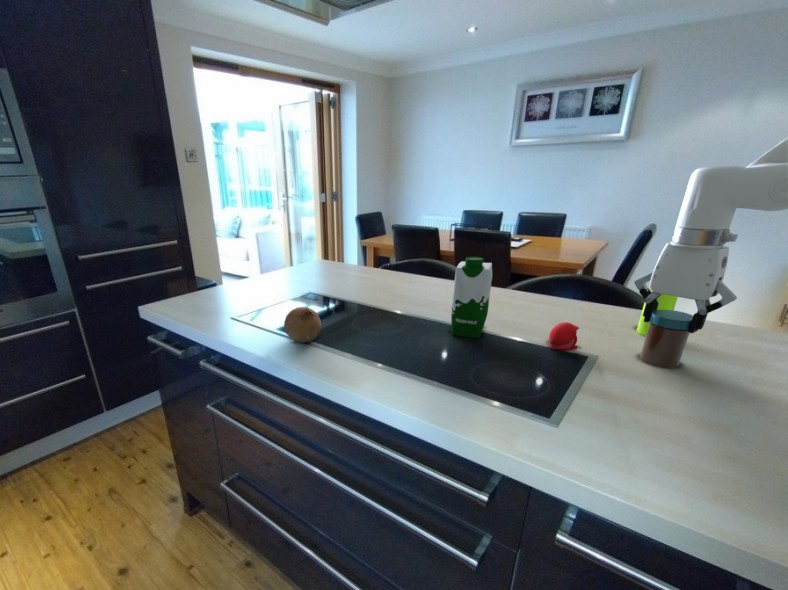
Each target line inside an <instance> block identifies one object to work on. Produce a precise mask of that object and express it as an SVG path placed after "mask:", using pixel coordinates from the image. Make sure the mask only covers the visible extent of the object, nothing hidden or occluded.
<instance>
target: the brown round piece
mask: <svg viewBox="0 0 788 590" xmlns="http://www.w3.org/2000/svg"><path fill="white" fill-rule="evenodd" d="M283 322H284V323H283V326H284V332H285V334H286V335H287V336H288V337H289V338H290V339H291V340H293V342H294V343H303V344H306V343H309V342H312V341H314V340H315V339H316V338H317V337H318V336H319V334H320V332H321V329H322V320H321V318H320V316H319V314H318V312H316V311H315V310H314V309H312V308H310V307H306V306H298V307H295V308H293V309H291V310H290V311H289V312H288V313H287V314H286V316H285V319H284V321H283Z"/></svg>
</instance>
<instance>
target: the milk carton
mask: <svg viewBox="0 0 788 590" xmlns="http://www.w3.org/2000/svg"><path fill="white" fill-rule="evenodd" d="M492 280H493V263H492V262H484V258H483V257H480V256H468V257H467V256H466V258H465V261H460V262H459V263H458V264H457V266H456V268H455V273H454V282H453V289H452V291H453V292H452V302H451V304H452V305H451V313H450V314H451V316H450V318H451V319H450V320H451V321H450V322H451V336H455V337H464V338H472V339H480V338H481V336H482V333H483V329H484V327H485V323H486V321H487V317H488V313H489V306H490V297H491V291H492Z"/></svg>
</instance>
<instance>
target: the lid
mask: <svg viewBox="0 0 788 590" xmlns="http://www.w3.org/2000/svg"><path fill="white" fill-rule="evenodd" d="M693 315H694V314H691V313H687V312H684V311H679V310H675V309H674V310H654V311H652V314H651V316H650V319H649V320H650V322H651V323H653V324H655V325H657V326H661V327H665V328H670V329H677V330H688V329H689V327H690V324H691V321H692V318H693Z"/></svg>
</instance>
